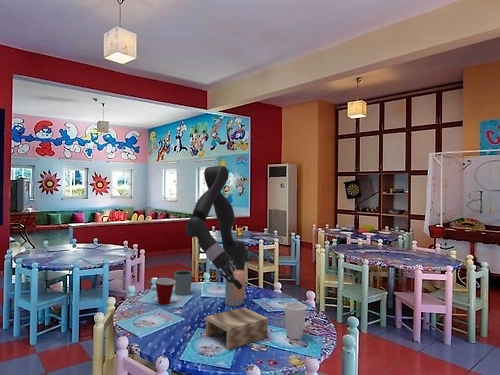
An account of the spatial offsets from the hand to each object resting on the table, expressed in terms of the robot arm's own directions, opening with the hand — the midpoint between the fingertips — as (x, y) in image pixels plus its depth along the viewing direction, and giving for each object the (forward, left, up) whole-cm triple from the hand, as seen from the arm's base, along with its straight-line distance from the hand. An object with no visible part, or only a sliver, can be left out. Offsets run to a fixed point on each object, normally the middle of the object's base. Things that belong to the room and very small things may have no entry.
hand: (243, 286), depth 152 cm
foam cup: (-17, +15, -20) cm, 30 cm away
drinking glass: (-7, -63, -20) cm, 66 cm away
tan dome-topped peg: (+1, -1, -5) cm, 5 cm away
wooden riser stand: (+3, +1, -20) cm, 20 cm away
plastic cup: (+9, -53, -20) cm, 57 cm away
